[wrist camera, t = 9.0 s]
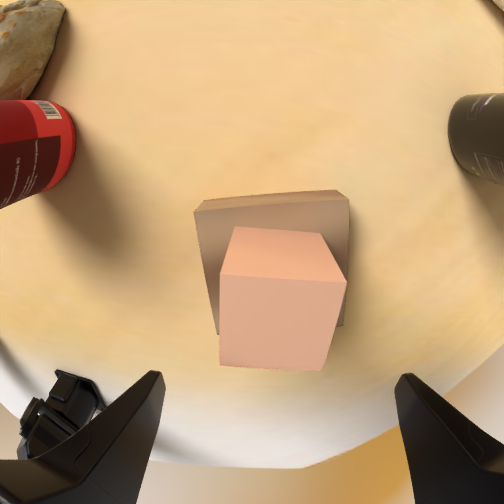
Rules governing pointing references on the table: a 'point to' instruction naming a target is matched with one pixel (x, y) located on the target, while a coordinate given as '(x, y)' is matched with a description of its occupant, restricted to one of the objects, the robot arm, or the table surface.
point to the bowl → (499, 4)
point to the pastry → (26, 44)
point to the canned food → (33, 147)
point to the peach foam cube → (278, 300)
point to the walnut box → (270, 217)
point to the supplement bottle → (479, 135)
